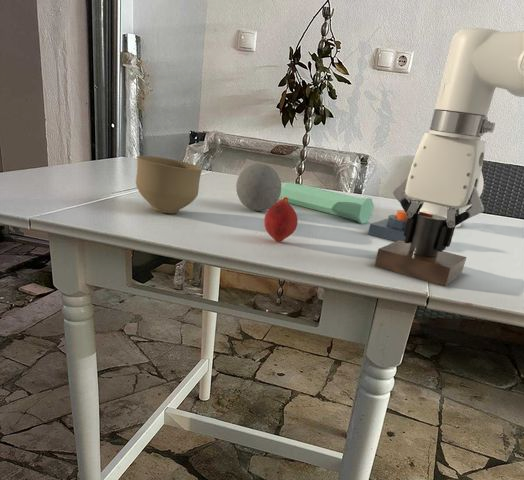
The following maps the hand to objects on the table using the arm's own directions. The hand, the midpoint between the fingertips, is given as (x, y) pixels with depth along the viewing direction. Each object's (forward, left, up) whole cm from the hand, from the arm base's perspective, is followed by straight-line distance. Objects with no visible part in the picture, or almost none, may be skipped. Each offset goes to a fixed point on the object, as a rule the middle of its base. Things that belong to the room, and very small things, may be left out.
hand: (425, 244), depth 84 cm
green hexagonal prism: (+34, -28, -5) cm, 44 cm away
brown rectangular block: (0, 0, -4) cm, 4 cm away
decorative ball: (+42, -12, -5) cm, 44 cm away
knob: (0, 0, -1) cm, 1 cm away
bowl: (+50, +8, -5) cm, 51 cm away
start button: (+11, -21, -1) cm, 24 cm away
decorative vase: (+12, -49, -5) cm, 51 cm away
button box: (+11, -21, -4) cm, 24 cm away
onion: (+24, +7, -5) cm, 25 cm away
